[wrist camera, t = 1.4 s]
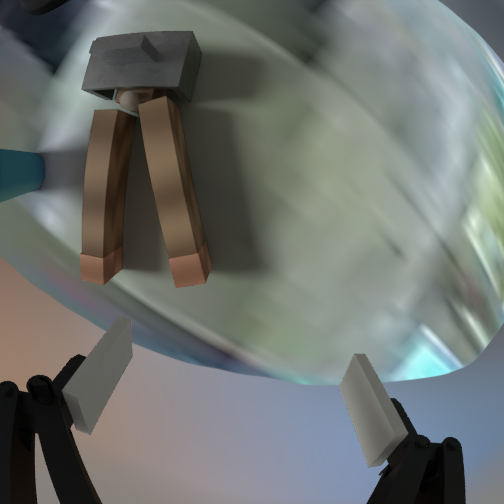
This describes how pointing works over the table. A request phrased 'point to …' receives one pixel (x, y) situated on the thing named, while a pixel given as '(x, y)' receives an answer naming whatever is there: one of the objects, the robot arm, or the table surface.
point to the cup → (19, 173)
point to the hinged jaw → (174, 192)
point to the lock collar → (143, 63)
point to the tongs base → (108, 185)
